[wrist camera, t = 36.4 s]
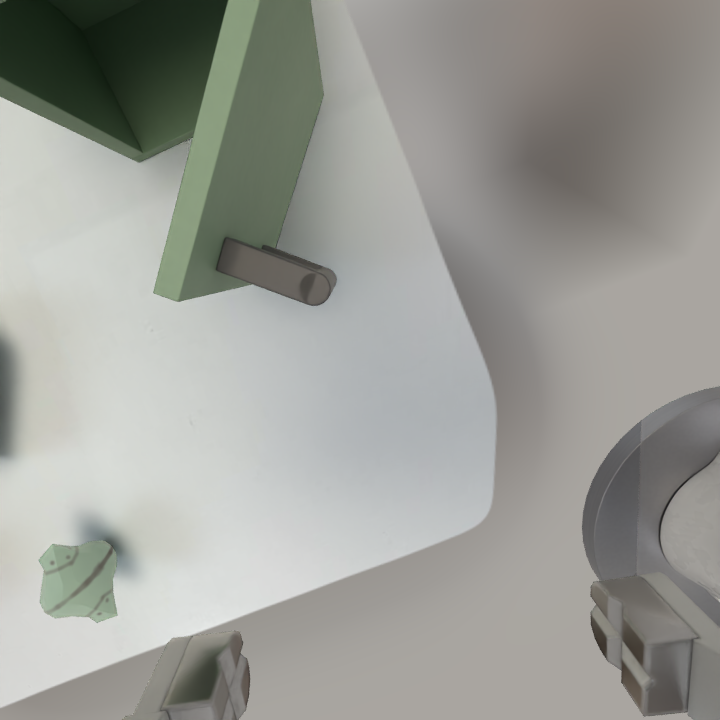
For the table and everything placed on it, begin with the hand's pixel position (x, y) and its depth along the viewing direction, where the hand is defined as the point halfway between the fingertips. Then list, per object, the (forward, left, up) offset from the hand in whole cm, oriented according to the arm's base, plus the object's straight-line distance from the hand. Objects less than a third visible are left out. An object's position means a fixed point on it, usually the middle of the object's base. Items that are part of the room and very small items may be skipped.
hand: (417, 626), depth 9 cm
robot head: (+26, +14, -25) cm, 39 cm away
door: (+2, -13, -25) cm, 28 cm away
